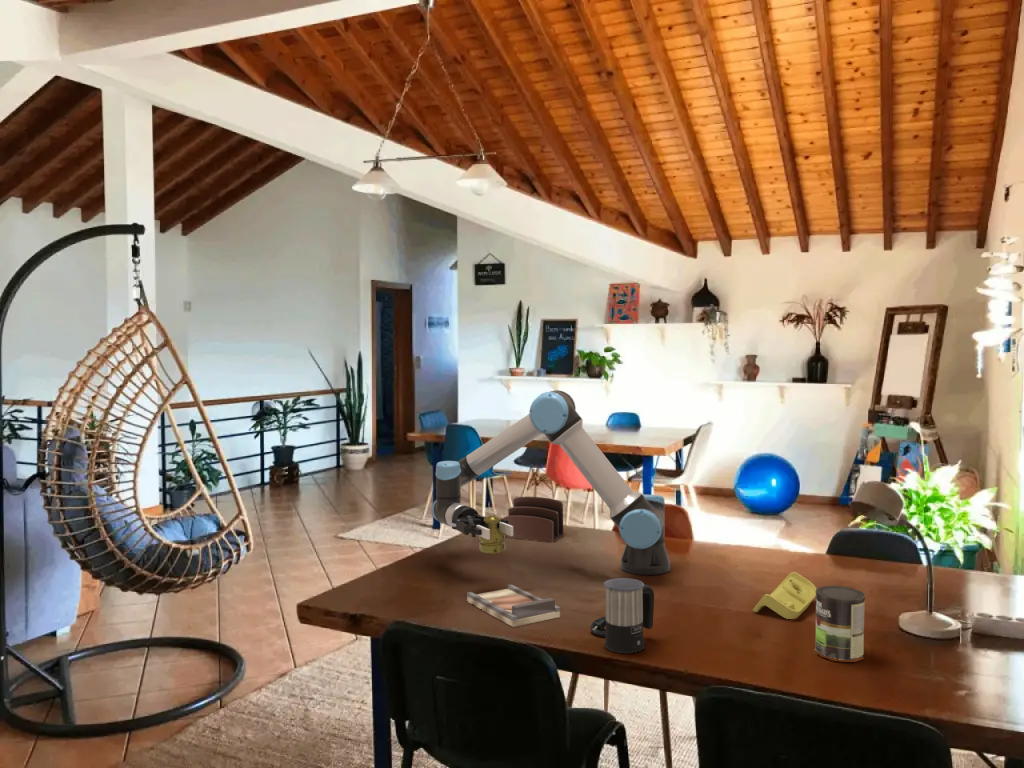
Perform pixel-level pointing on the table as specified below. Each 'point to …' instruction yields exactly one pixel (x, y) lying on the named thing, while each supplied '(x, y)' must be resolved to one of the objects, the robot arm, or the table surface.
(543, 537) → the letter holder
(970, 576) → the table surface
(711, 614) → the table surface
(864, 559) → the table surface
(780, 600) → the plastic component
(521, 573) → the table surface
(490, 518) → the gold chess piece
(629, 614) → the milk frother
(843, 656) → the coffee can
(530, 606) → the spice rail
